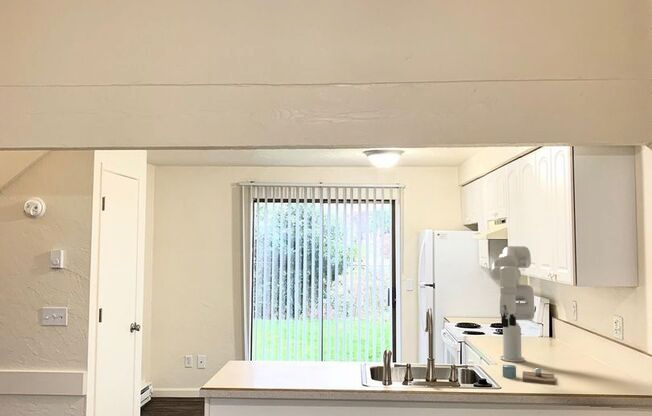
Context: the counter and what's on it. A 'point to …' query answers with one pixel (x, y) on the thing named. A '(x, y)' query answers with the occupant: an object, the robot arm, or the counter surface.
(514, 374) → the cap
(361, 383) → the counter surface
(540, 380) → the brown flat square piece
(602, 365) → the counter surface
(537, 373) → the post
